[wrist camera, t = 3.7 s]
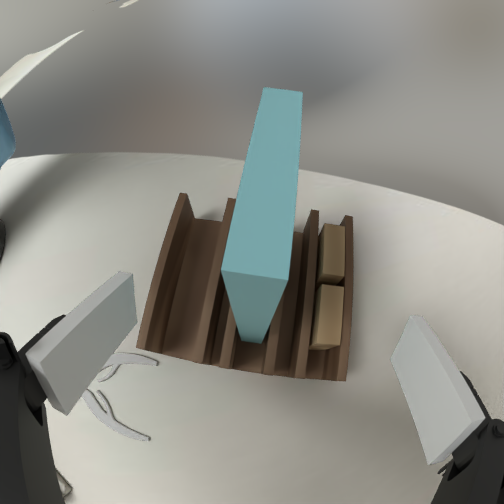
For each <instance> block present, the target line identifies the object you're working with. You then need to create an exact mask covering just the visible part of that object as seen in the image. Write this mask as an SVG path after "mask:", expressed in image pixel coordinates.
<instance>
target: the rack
mask: <svg viewBox="0 0 504 504" xmlns="http://www.w3.org/2000/svg"><path fill="white" fill-rule="evenodd" d="M235 203H236V199H233V198H228V201H227V205H226V209H225V213H224V217H223V221H222V222H219V221H212V220H204V219H196V218H195V217H194V214H193V211H192V208H191V205H190V202H189V198H188V195H187V194H186V193H180V194H179V197H178V200H177V202H176V205H175V208H174V211H173V214H172V217H171V220H170V223H169V226H168V229H167V232H166V235H165V239H164V242H163V245H162V248H161V251H160V255H159V258H158V262H157V265H156V269H155V272H154V276H153V279H152V283H151V287H150V290H149V294H148V298H147V302H146V306H145V310H144V314H143V318H142V322H141V327H140V331H139V336H138V340H137V345H136V348H139V349H143V350H147V351H151V352H155V353H160V354H164V355H168V356H172V357H176V358H180V359H185V360H189V361H193V362H195V363H200V364H207V365H213V366H218V367H220V368H226V369H235V370H241V371H248V372H255V373H261V374H264V375H272V376H273V375H277V376H286V377H292V378H300V379H305V378H308V379H321V380H331V381H346V375H347V367H348V357H349V346H350V334H351V320H352V300H353V217H352V216H347V215H345V217H344V219H343V220H342V222H341V224H340V226H344V227H345V271H344V277H343V278H342V279H341V280H340V281H339V283H338V284H337V285H336V286H339V287H344V297H343V315H342V328H341V340H340V345H339V346H336V347H332V348H329V349H326V350H323V351H319V350H309V340H310V332H311V322H312V312H313V301H314V294H315V293H314V290H315V277H316V262H317V246H318V237H319V236H318V224H319V211H317V210H311V212H310V215H309V217H308V220H307V223H306V226H305V229H304V232H303V233H298V232H293V239H292V249H291V259H290V268H289V277H288V282H287V284H286V287H285V289H284V291H283V294H282V296H281V299H280V301H279V304H278V306H277V308H276V311H275V313H274V315H273V318H272V320H271V323H270V325H269V327H268V329H267V332H266V334H265V336H264V339H263V341H262V343H261V344H259V343H253V342H246V341H241V338H240V335H239V331H238V328H237V325H236V321H235V318H234V314H233V311H232V308H231V304H230V301H229V297H228V294H227V290H226V287H225V283H224V279H223V276H222V272H221V267H222V262H223V258H224V253H225V248H226V244H227V239H228V235H229V230H230V225H231V221H232V216H233V212H234V208H235Z"/></svg>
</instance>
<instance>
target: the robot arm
mask: <svg viewBox="0 0 504 504" xmlns="http://www.w3.org/2000/svg"><path fill="white" fill-rule="evenodd" d="M15 147H16V142H15V137H14V133H13V130H12V127H11V124H10V121H9V118H8V115H7V113H6V110H5V108H4V106H3V103H2V101H1V98H0V169H1V167H2V165H3V164H4V163H5V162H6V161H7V160H8V159H9V158H10V157H11V156H12V154H13V153H14V151H15ZM4 242H5V226H4V223H3V221H2V220H1V219H0V258H1V255H2V252H3V248H4ZM136 323H137V315H136V306H135V296H134V284H133V274H131V273H126V272H121V271H119V272H118V273H116V274H115V275H114V276H113V277H111V278H110V279H109V280H108V281H106V282H105V283H104V284H103V285H102V286H100V287H99V288H98V289H97V290H96V291H94V292H93V293H92V294H91V295H90V296H88V297H87V298H86V299H85V300H84V301H82V302H81V303H80V304H79V305H78V306H77V307H76V308H74V309H73V310H72V311H71V312H70V313H69V314H68V315H62V316H60V317H57V318H55V319H53V320H52V321H51V322H50V323H49V324H47V325H46V326H45V328H43V329H42V330H41V331H40V332H39V333H37V334H36V335H35V336H34V337H33V338H32V339H31V340H30V341H29V342H28V343H27V344H26V345H24V346H23V347H22V348H21V349H20V350H19V351H18V352H17V350H16V348H15V346H14V343H13V341H12V339H11V337H10V335H9V334H7V333H5V332H0V504H65V502H64V499H63V496H62V492H61V489H60V485H59V482H58V478H57V474H56V469H55V465H54V460H53V455H52V450H51V445H50V438H49V432H48V424H47V415H46V408H45V404H44V403H43V402H44V401H45V400H46V398H48V400H49V402H50V403H51V405H52V407H53V408H55V409H57V410H58V411H60V412H62V413H63V414H65V415H68V414H69V413H70V411H71V410H72V408H73V407H74V405H75V404H76V403H77V401H78V400H79V398H80V397H81V396H82V394H83V393H84V392H85V390H86V389H87V387H88V386H89V385H90V383H91V382H92V381H93V379H94V378H95V377H96V375H97V374H98V373H99V371H100V370H101V369H102V367H103V366H104V365H105V363H106V362H107V361H108V359H109V358H110V357H111V355H112V354H113V353H114V351H115V350H116V349H117V348H118V346H119V345H120V344H121V342H122V341H123V340H124V339H125V337H126V336H127V335H128V333H129V332H130V331H131V330H132V328H133V327H134V326H135V325H136ZM390 360H391V362H392V365H393V367H394V370H395V372H396V375H397V377H398V380H399V382H400V385H401V387H402V390H403V392H404V395H405V398H406V400H407V403H408V406H409V409H410V411H411V414H412V417H413V420H414V423H415V426H416V429H417V432H418V435H419V438H420V441H421V444H422V447H423V450H424V454H425V457H426V461H427V464H428V465H431V464H435V463H439V462H442V461H443V460H444V459H446V458H447V457H448V456H449V455H450V454H451V453H452V455H453V459H452V460H451V461H449V462H448V463H447V464H446V465H445V466H444V467H442V468H441V469H440V470H439V472H438V473H437V474H440V473H441V472H443V471H444V470H445V469H446V471H445V473H444V474H443V475H442V476H443V478H442V481H441V483H440V485H439V487H438V490H437V492H436V494H435V496H434V498H433V500H432V502H431V504H504V422H503V421H502V420H500V419H491V417H490V416H489V414H488V412H487V410H486V408H485V406H484V404H483V402H482V401H481V399H480V397H479V395H478V396H477V392H476V390H475V389H473V388H474V387H473V385H472V383H471V382H470V380H469V378H468V377H467V376H465V375H464V374H463V373H462V372H461V371H459V370H458V368H457V366H456V365H455V363H454V361H453V360H452V358H451V357H450V355H449V354H448V352H447V351H446V349H445V347H444V346H443V344H442V343H441V341H440V340H439V338H438V337H437V336H436V334H435V333H434V331H433V330H432V328H431V327H430V325H429V324H428V323H427V321H426V320H425V318H424V317H423V316H418V315H410V317H409V320H408V322H407V324H406V327H405V329H404V331H403V333H402V336H401V338H400V340H399V342H398V344H397V346H396V348H395V350H394V352H393V354H392V356H391V358H390Z"/></svg>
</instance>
